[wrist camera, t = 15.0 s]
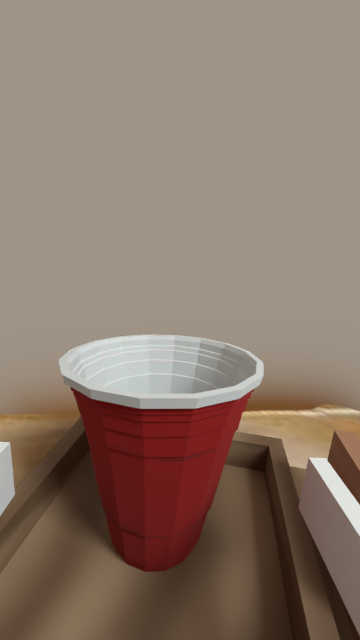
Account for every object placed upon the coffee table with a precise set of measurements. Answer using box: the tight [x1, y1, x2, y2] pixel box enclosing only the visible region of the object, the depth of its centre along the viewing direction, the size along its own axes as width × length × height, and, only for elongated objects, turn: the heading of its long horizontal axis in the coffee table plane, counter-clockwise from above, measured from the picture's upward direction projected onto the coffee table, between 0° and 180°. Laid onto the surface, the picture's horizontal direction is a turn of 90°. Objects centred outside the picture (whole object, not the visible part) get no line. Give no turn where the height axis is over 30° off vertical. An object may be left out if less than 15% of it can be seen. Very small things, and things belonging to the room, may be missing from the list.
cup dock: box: [0, 418, 360, 640], centre depth 15 cm, size 21×17×8 cm
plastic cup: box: [59, 334, 263, 572], centre depth 16 cm, size 11×11×12 cm
